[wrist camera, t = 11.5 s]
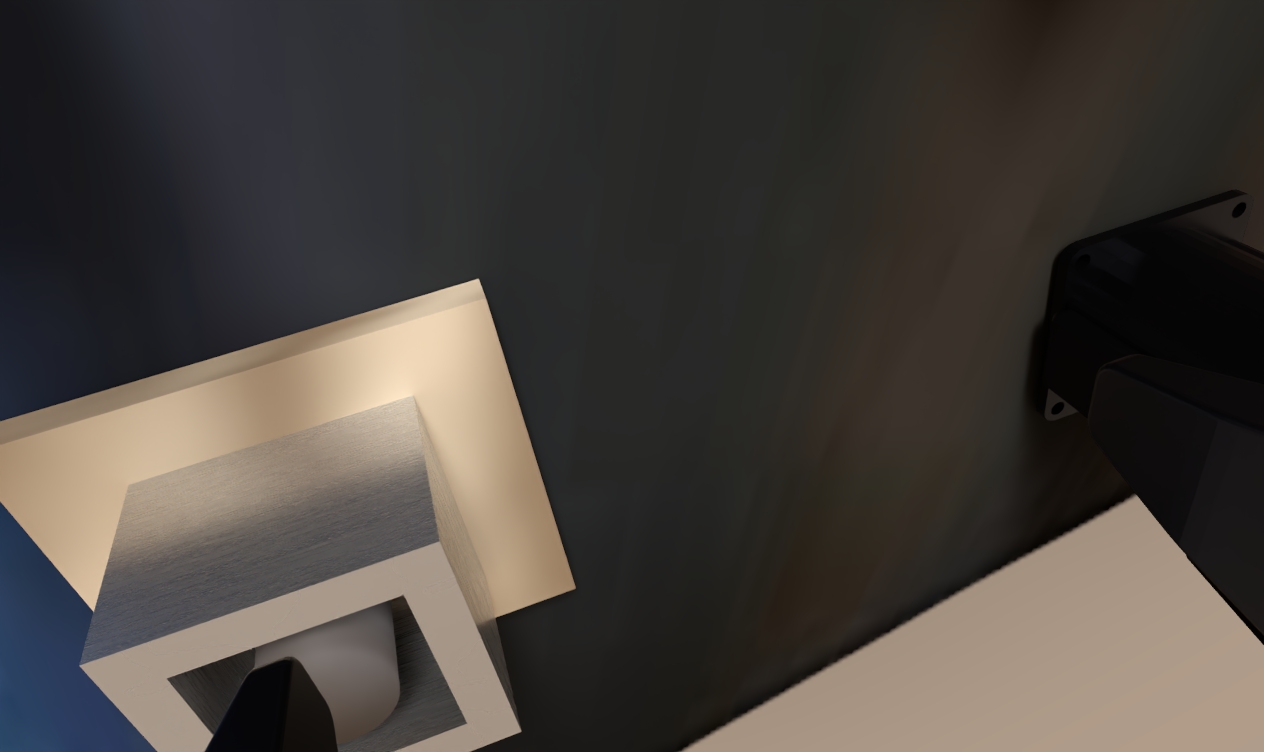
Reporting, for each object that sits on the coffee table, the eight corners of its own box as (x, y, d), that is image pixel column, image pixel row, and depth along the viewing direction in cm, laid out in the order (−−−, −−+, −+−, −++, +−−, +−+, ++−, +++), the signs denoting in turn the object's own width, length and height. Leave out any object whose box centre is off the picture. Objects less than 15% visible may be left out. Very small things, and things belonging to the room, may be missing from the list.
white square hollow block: (413, 395, 20) (439, 541, 16) (485, 576, 23) (521, 731, 19) (128, 484, 19) (79, 665, 15) (251, 659, 22) (239, 841, 18)
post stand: (478, 278, 20) (533, 425, 15) (567, 564, 26) (627, 735, 21) (-22, 428, 18) (-143, 648, 13) (196, 697, 24) (167, 918, 19)
